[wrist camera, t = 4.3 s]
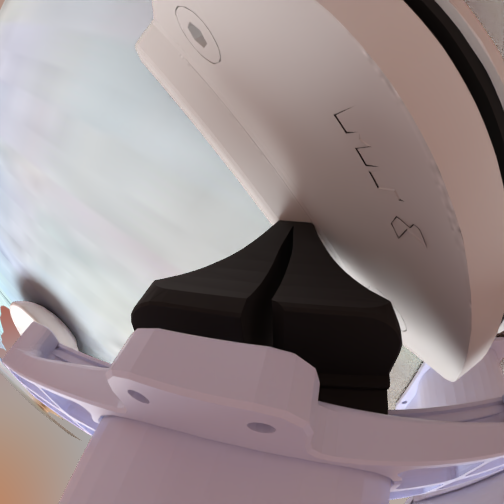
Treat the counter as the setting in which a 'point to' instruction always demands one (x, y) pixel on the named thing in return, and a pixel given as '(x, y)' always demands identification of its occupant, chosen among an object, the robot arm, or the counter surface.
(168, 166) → the counter surface
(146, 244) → the counter surface
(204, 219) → the counter surface
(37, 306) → the spoon rest
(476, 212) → the white curved piece
